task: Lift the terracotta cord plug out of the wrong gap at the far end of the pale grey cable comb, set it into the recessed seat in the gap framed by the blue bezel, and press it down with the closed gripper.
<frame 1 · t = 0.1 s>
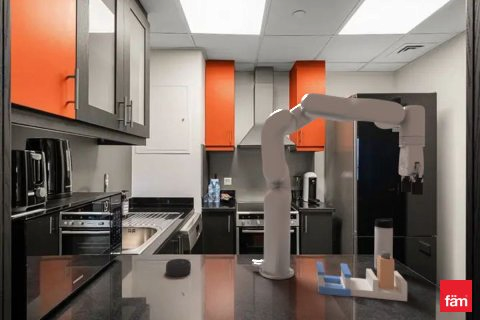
hand: (411, 193, 101), 31 cm above the countertop, tool pointing down, fingers open, 9 cm apart
travel mug: (383, 270, 115), on the countertop
smart speaker: (178, 273, 109), on the countertop
cord plug: (385, 286, 94), point 2 cm above the countertop, touching cable comb
cable comb: (358, 290, 96), on the countertop
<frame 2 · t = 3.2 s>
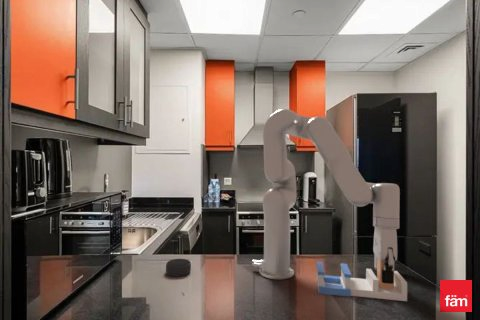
hand: (385, 279, 94), 4 cm above the countertop, tool pointing down, fingers closed on cord plug, 4 cm apart
cord plug: (385, 286, 94), point 2 cm above the countertop, touching cable comb, gripper
everything else where it was.
when the fingers open (5 cm above the countertop, at t = 9.4 s): cord plug drops 2 cm, resting on cable comb.
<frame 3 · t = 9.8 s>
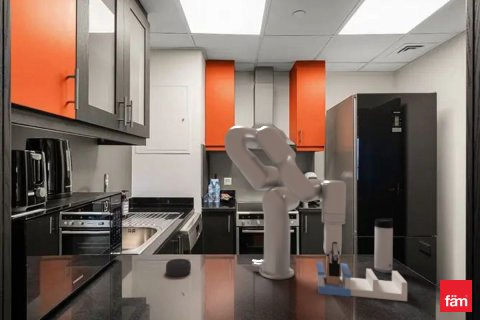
hand: (332, 270, 98), 5 cm above the countertop, tool pointing down, fingers open, 8 cm apart
cord plug: (332, 285, 98), resting on cable comb
everything else where it was.
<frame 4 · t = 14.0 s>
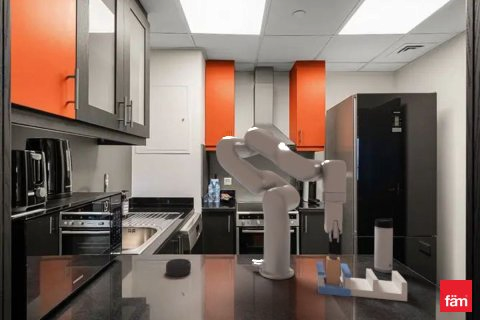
hand: (333, 253, 98), 11 cm above the countertop, tool pointing down, fingers closed
cord plug: (332, 285, 98), point 1 cm above the countertop, touching cable comb, gripper
everything else where it was.
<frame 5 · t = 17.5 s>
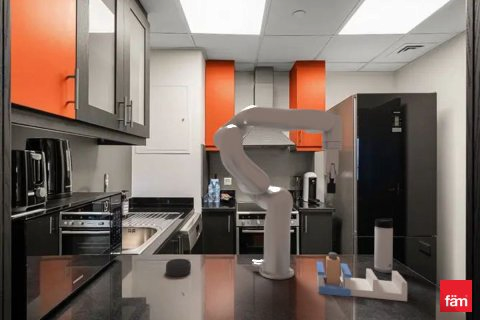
hand: (331, 193, 117), 29 cm above the countertop, tool pointing down, fingers closed
cord plug: (332, 285, 98), resting on cable comb
everything else where it was.
at the end: cord plug 0.0 cm from the target spot on the cable comb, point 0.5 cm above the cable comb's base; cord plug tilted 0°; the gripper is holding nothing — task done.
